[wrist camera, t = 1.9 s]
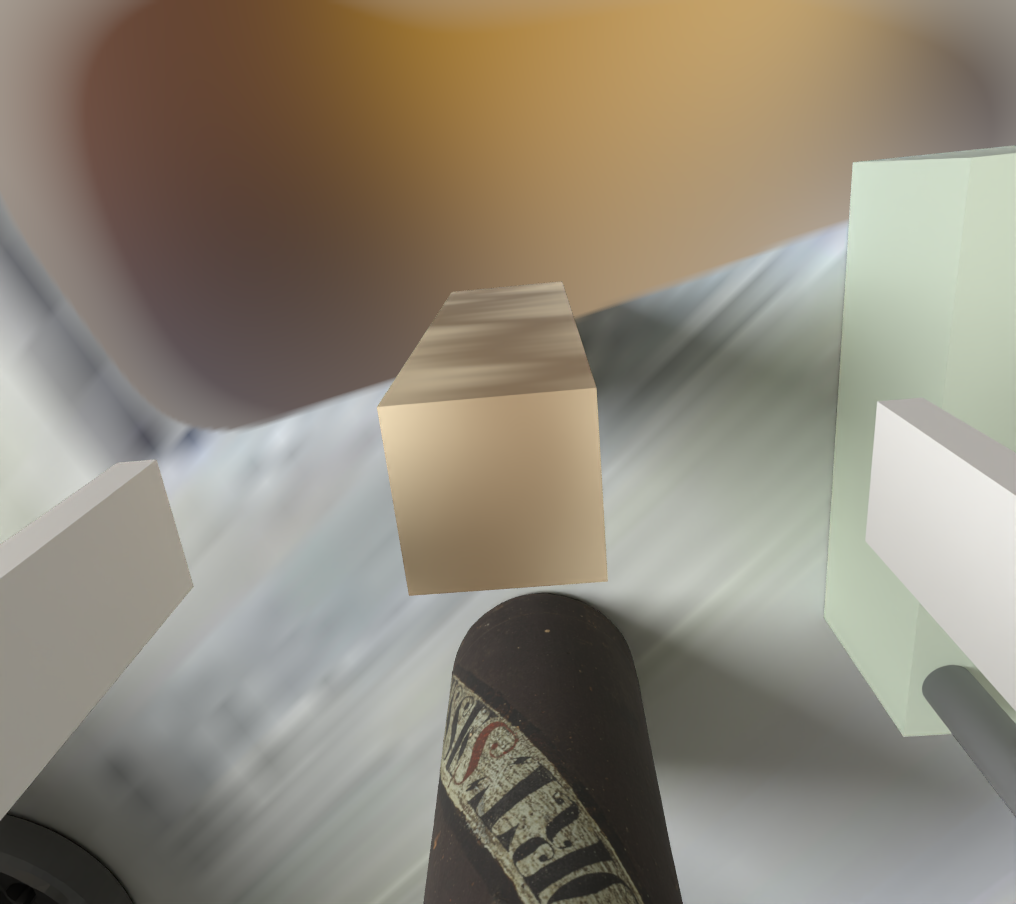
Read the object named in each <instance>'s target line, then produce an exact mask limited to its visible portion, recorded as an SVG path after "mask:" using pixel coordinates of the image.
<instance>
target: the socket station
mask: <svg viewBox="0 0 1016 904" xmlns="http://www.w3.org/2000/svg"><path fill="white" fill-rule="evenodd" d="M851 184H852V185H851V199H850V214H849V215H850V216H849V230H848V246H847V262H846V277H845V293H844V309H843V324H842V340H841V356H840V371H839V387H838V403H837V418H836V434H835V450H834V465H833V481H832V497H831V512H830V528H829V544H828V559H827V575H826V591H825V606H824V619H825V620H826V622H827V623H828V625H829V626H830V628H831V629H832V631H833V632H834V634H835V635H836V637H837V638H838V640H839V641H840V643H841V644H842V646H843V647H844V649H845V650H846V652H847V653H848V655H849V656H850V658H851V659H852V661H853V662H854V664H855V665H856V667H857V668H858V670H859V671H860V672H861V674H862V675H863V677H864V678H865V680H866V681H867V683H868V684H869V686H870V687H871V689H872V690H873V692H874V693H875V695H876V696H877V698H878V699H879V701H880V702H881V704H882V705H883V707H884V708H885V710H886V711H887V713H888V714H889V716H890V717H891V719H892V720H893V722H894V723H895V725H896V726H897V728H898V729H899V731H900V732H901V734H902V735H903V737H910V736H927V735H945V734H953V736H954V737H955V738H956V740H957V741H958V742H959V744H960V745H961V746H962V747H963V749H964V750H965V751H966V753H967V754H968V755H969V757H970V758H971V759H972V761H973V762H974V763H975V765H976V766H977V767H978V769H979V770H980V771H981V772H982V774H983V775H984V776H985V778H986V779H987V780H988V782H989V783H990V784H991V786H992V787H993V788H994V790H995V791H996V792H997V794H998V795H999V796H1000V798H1001V799H1002V800H1003V801H1004V803H1005V804H1006V805H1007V807H1008V808H1009V809H1010V811H1011V812H1012V813H1013V815H1014V816H1015V817H1016V711H1015V710H1014V709H1013V708H1012V707H1011V705H1010V704H1009V703H1008V702H1007V701H1006V700H1005V699H1004V698H1003V696H1002V695H1001V694H1000V693H999V692H998V691H997V690H996V689H995V687H994V686H993V685H992V684H991V683H990V682H989V681H988V679H987V678H986V677H985V676H984V675H983V674H982V673H981V672H980V670H979V669H978V668H977V667H976V666H975V665H974V664H973V662H972V661H971V660H970V659H969V658H968V657H967V656H966V655H965V653H964V652H963V651H962V650H961V649H960V648H959V647H958V645H957V644H956V643H955V642H954V641H953V640H952V639H951V638H950V636H949V635H948V634H947V633H946V632H945V631H944V630H943V628H942V627H941V626H940V625H939V624H938V623H937V622H936V621H935V619H934V618H933V617H932V616H931V615H930V614H929V613H928V611H927V610H926V609H925V608H924V607H923V606H922V605H921V604H920V602H919V601H918V600H917V599H916V598H915V597H914V596H913V594H912V593H911V592H910V591H909V590H908V589H907V588H906V587H905V585H904V584H903V583H902V582H901V581H900V580H899V579H898V577H897V576H896V575H895V574H894V573H893V572H892V571H891V570H890V568H889V567H888V566H887V565H886V564H885V563H884V562H883V561H882V559H881V558H880V557H879V556H878V555H877V554H876V553H875V551H874V550H873V549H872V548H871V547H870V546H869V545H868V544H867V542H866V541H865V537H866V526H867V514H868V503H869V491H870V480H871V468H872V457H873V445H874V434H875V422H876V410H877V401H887V400H899V399H912V398H924V399H926V400H927V401H929V402H931V403H933V404H934V405H936V406H938V407H939V408H941V409H943V410H944V411H946V412H948V413H949V414H951V415H953V416H954V417H956V418H958V419H960V420H961V421H963V422H965V423H966V424H968V425H970V426H971V427H973V428H975V429H976V430H978V431H980V432H982V433H983V434H985V435H987V436H988V437H990V438H992V439H993V440H995V441H997V442H998V443H1000V444H1002V445H1003V446H1005V447H1007V448H1009V449H1010V450H1012V451H1014V452H1015V453H1016V145H1015V146H1005V147H996V148H986V149H977V150H967V151H958V152H947V153H938V154H928V155H919V156H910V157H899V158H891V159H880V160H871V161H861V162H853V168H852V183H851Z"/></svg>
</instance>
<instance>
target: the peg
mask: <svg viewBox="0 0 1016 904" xmlns="http://www.w3.org/2000/svg"><path fill="white" fill-rule="evenodd" d="M377 410H378V416H379V422H380V428H381V434H382V439H383V445H384V451H385V457H386V463H387V469H388V475H389V481H390V487H391V492H392V498H393V504H394V510H395V516H396V522H397V528H398V534H399V540H400V545H401V551H402V557H403V563H404V569H405V575H406V581H407V587H408V592H409V596H412V595H426V594H440V593H454V592H468V591H482V590H495V589H509V588H523V587H537V586H551V585H565V584H578V583H592V582H606V581H608V579H607V561H606V544H605V527H604V510H603V492H602V475H601V458H600V440H599V423H598V406H597V389H596V385H595V382H594V379H593V375H592V372H591V369H590V366H589V363H588V360H587V357H586V354H585V351H584V348H583V344H582V341H581V338H580V335H579V332H578V329H577V326H576V323H575V320H574V316H573V313H572V310H571V307H570V304H569V301H568V298H567V295H566V292H565V288H564V285H563V282H551V283H541V284H531V285H520V286H510V287H499V288H490V289H479V290H469V291H458V292H452V293H451V294H450V296H449V297H448V299H447V301H446V302H445V304H444V305H443V307H442V308H441V310H440V311H439V313H438V314H437V316H436V318H435V319H434V320H433V322H432V323H431V325H430V327H429V328H428V330H427V331H426V333H425V334H424V336H423V337H422V339H421V340H420V342H419V343H418V345H417V347H416V348H415V350H414V351H413V353H412V354H411V356H410V357H409V359H408V360H407V362H406V363H405V365H404V366H403V368H402V369H401V371H400V373H399V374H398V376H397V377H396V379H395V380H394V382H393V383H392V385H391V386H390V388H389V389H388V391H387V392H386V394H385V396H384V397H383V399H382V400H381V402H380V403H379V405H378V406H377Z"/></svg>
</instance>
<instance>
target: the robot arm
mask: <svg viewBox="0 0 1016 904" xmlns="http://www.w3.org/2000/svg"><path fill="white" fill-rule="evenodd" d="M865 541H866V542H867V544H868V545H869V546H870V547H871V548H872V549H873V550H874V551H875V553H876V554H877V555H878V556H879V557H880V558H881V559H882V561H883V562H884V563H885V564H886V565H887V566H888V567H889V568H890V570H891V571H892V572H893V573H894V574H895V575H896V576H897V577H898V579H899V580H900V581H901V582H902V583H903V584H904V585H905V587H906V588H907V589H908V590H909V591H910V592H911V593H912V594H913V596H914V597H915V598H916V599H917V600H918V601H919V602H920V604H921V605H922V606H923V607H924V608H925V609H926V610H927V611H928V613H929V614H930V615H931V616H932V617H933V618H934V619H935V621H936V622H937V623H938V624H939V625H940V626H941V627H942V628H943V630H944V631H945V632H946V633H947V634H948V635H949V636H950V638H951V639H952V640H953V641H954V642H955V643H956V644H957V645H958V647H959V648H960V649H961V650H962V651H963V652H964V653H965V655H966V656H967V657H968V658H969V659H970V660H971V661H972V662H973V664H974V665H975V666H976V667H977V668H978V669H979V670H980V672H981V673H982V674H983V675H984V676H985V677H986V678H987V679H988V681H989V682H990V683H991V684H992V685H993V686H994V687H995V689H996V690H997V691H998V692H999V693H1000V694H1001V695H1002V696H1003V698H1004V699H1005V700H1006V701H1007V702H1008V703H1009V704H1010V705H1011V707H1012V708H1013V709H1014V710H1015V711H1016V453H1015V452H1014V451H1012V450H1010V449H1009V448H1007V447H1005V446H1003V445H1002V444H1000V443H998V442H997V441H995V440H993V439H992V438H990V437H988V436H987V435H985V434H983V433H982V432H980V431H978V430H976V429H975V428H973V427H971V426H970V425H968V424H966V423H965V422H963V421H961V420H960V419H958V418H956V417H954V416H953V415H951V414H949V413H948V412H946V411H944V410H943V409H941V408H939V407H938V406H936V405H934V404H933V403H931V402H929V401H927V400H926V399H924V398H912V399H899V400H887V401H877V410H876V422H875V434H874V445H873V457H872V468H871V480H870V491H869V503H868V514H867V526H866V537H865ZM193 587H194V586H193V583H192V579H191V576H190V572H189V569H188V566H187V562H186V559H185V555H184V552H183V549H182V545H181V542H180V538H179V535H178V531H177V528H176V525H175V521H174V518H173V514H172V511H171V508H170V504H169V501H168V497H167V494H166V491H165V487H164V484H163V480H162V477H161V474H160V470H159V467H158V463H157V460H146V461H133V462H121V463H116V464H115V465H113V466H112V467H111V468H109V469H108V470H106V471H105V472H103V473H102V474H101V475H99V476H98V477H96V478H95V479H93V480H92V481H91V482H89V483H88V484H86V485H85V486H83V487H82V488H81V489H79V490H78V491H76V492H75V493H73V494H72V495H71V496H69V497H68V498H66V499H65V500H63V501H62V502H60V503H59V504H58V505H56V506H55V507H53V508H52V509H50V510H49V511H48V512H46V513H45V514H43V515H42V516H40V517H39V518H38V519H36V520H35V521H33V522H32V523H30V524H29V525H28V526H26V527H25V528H23V529H22V530H20V531H19V532H18V533H16V534H15V535H13V536H12V537H10V538H9V539H7V540H6V541H5V542H3V543H2V544H0V904H132V902H131V900H130V898H129V896H128V895H127V893H126V892H125V890H124V889H123V887H122V886H121V885H120V883H119V882H118V881H117V879H116V878H115V877H114V876H113V875H112V874H111V873H110V872H109V871H108V870H107V869H106V868H105V867H104V866H103V865H102V864H101V863H100V862H99V861H98V860H97V859H95V858H94V857H93V856H92V855H90V854H89V853H88V852H86V851H85V850H84V849H82V848H81V847H79V846H78V845H76V844H75V843H73V842H71V841H70V840H68V839H66V838H64V837H63V836H61V835H59V834H57V833H55V832H53V831H51V830H49V829H47V828H44V827H42V826H39V825H37V824H34V823H32V822H29V821H26V820H23V819H20V818H17V817H13V816H9V815H6V813H7V812H8V811H9V810H10V809H11V807H12V806H13V805H14V804H15V802H16V801H17V800H18V799H19V798H20V796H21V795H22V794H23V793H24V792H25V790H26V789H27V788H28V787H29V785H30V784H31V783H32V782H33V781H34V779H35V778H36V777H37V776H38V775H39V773H40V772H41V771H42V770H43V768H44V767H45V766H46V765H47V764H48V762H49V761H50V760H51V759H52V758H53V756H54V755H55V754H56V753H57V752H58V750H59V749H60V748H61V747H62V745H63V744H64V743H65V742H66V741H67V739H68V738H69V737H70V736H71V735H72V733H73V732H74V731H75V730H76V728H77V727H78V726H79V725H80V724H81V722H82V721H83V720H84V719H85V718H86V716H87V715H88V714H89V713H90V711H91V710H92V709H93V708H94V707H95V705H96V704H97V703H98V702H99V701H100V699H101V698H102V697H103V696H104V695H105V693H106V692H107V691H108V690H109V688H110V687H111V686H112V685H113V684H114V682H115V681H116V680H117V679H118V678H119V676H120V675H121V674H122V673H123V671H124V670H125V669H126V668H127V667H128V665H129V664H130V663H131V662H132V661H133V659H134V658H135V657H136V656H137V654H138V653H139V652H140V651H141V650H142V648H143V647H144V646H145V645H146V644H147V642H148V641H149V640H150V639H151V638H152V636H153V635H154V634H155V633H156V631H157V630H158V629H159V628H160V627H161V625H162V624H163V623H164V622H165V621H166V619H167V618H168V617H169V616H170V614H171V613H172V612H173V611H174V610H175V608H176V607H177V606H178V605H179V604H180V602H181V601H182V600H183V599H184V597H185V596H186V595H187V594H188V593H189V591H190V590H191V589H192V588H193Z"/></svg>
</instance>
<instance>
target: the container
mask: <svg viewBox="0 0 1016 904" xmlns="http://www.w3.org/2000/svg"><path fill="white" fill-rule="evenodd" d="M424 904H683V902H682V898H681V893H680V889H679V884H678V879H677V874H676V870H675V865H674V861H673V857H672V852H671V847H670V842H669V837H668V832H667V827H666V822H665V816H664V812H663V807H662V801H661V796H660V791H659V786H658V781H657V776H656V771H655V766H654V761H653V756H652V751H651V746H650V741H649V736H648V730H647V725H646V719H645V714H644V708H643V703H642V698H641V692H640V687H639V683H638V678H637V674H636V670H635V666H634V662H633V659H632V655H631V652H630V650H629V647H628V645H627V643H626V641H625V639H624V637H623V636H622V634H621V633H620V632H619V630H618V629H617V628H616V627H615V626H614V624H613V623H612V622H611V621H610V620H608V619H607V618H606V617H605V616H604V615H602V614H601V613H600V612H598V611H597V610H595V609H594V608H592V607H590V606H589V605H587V604H585V603H582V602H580V601H578V600H575V599H572V598H569V597H564V596H559V595H554V594H545V593H541V594H528V595H523V596H519V597H515V598H513V599H510V600H508V601H505V602H503V603H501V604H499V605H497V606H496V607H494V608H493V609H491V610H490V611H488V612H487V613H486V614H484V615H483V616H482V617H481V618H480V619H479V620H478V621H477V622H476V623H475V624H474V625H473V626H472V627H471V628H470V629H469V631H468V632H467V634H466V636H465V637H464V639H463V641H462V643H461V645H460V647H459V650H458V652H457V655H456V658H455V663H454V667H453V671H452V681H451V689H450V697H449V705H448V712H447V720H446V728H445V735H444V740H443V752H442V759H441V767H440V777H439V785H438V794H437V802H436V809H435V819H434V827H433V834H432V841H431V849H430V857H429V864H428V872H427V880H426V887H425V896H424Z"/></svg>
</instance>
